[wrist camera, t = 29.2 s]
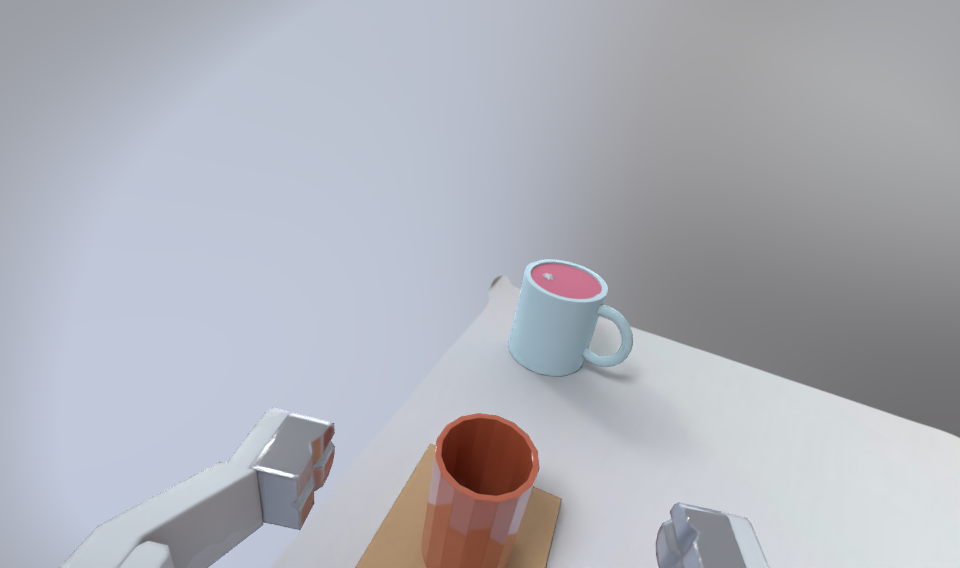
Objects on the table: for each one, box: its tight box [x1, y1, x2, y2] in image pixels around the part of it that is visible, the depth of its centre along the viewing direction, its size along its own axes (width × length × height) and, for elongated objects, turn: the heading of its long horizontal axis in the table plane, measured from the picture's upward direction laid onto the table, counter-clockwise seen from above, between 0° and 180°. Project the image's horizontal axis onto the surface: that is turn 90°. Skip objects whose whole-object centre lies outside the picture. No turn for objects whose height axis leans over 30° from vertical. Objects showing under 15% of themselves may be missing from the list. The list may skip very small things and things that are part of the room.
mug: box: [509, 259, 633, 376], centre depth 51 cm, size 14×9×10 cm
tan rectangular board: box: [355, 444, 561, 568], centre depth 33 cm, size 14×12×1 cm
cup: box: [421, 413, 539, 568], centre depth 30 cm, size 6×6×10 cm
